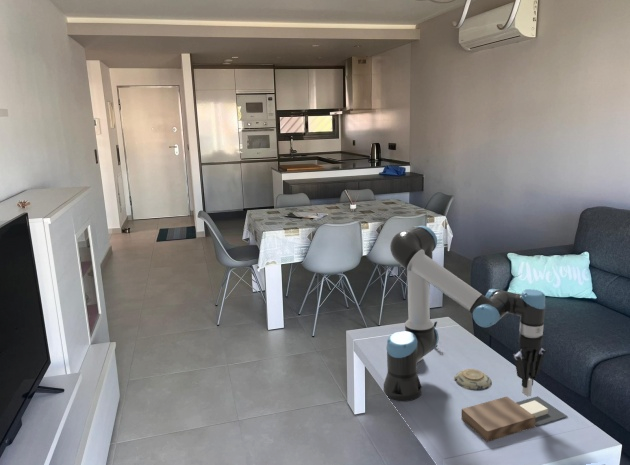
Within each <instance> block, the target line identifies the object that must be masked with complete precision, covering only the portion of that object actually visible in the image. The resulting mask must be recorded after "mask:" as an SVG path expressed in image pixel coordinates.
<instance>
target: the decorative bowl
mask: <svg viewBox="0 0 630 465" xmlns="http://www.w3.org/2000/svg"><path fill="white" fill-rule="evenodd" d="M453 380H454V381H456V382H455V383H456V385H458V386H459V387H461V388H462V389H465V390H470V391H484V390H488V389H489V388H491V387H492V385H493V382H492V379H491V378H490V377H489V376H488V375H487V373H485V372H482V371H480V370H478V369H474V368H466V369H464V370H462V371H459V372H458V373H456V374H455V376H454V378H453Z"/></svg>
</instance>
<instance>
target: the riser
mask: <svg viewBox="0 0 630 465" xmlns="http://www.w3.org/2000/svg"><path fill="white" fill-rule="evenodd" d="M461 420H462V421H463V422H464V423H465V424H467V425H468V426H469V427H470V428H471V429H472V430H473V431H474V432H476V434H478V435H479V436H480V437H481V438H482V439H484V441H486V442H487V443H488V442H491V441H492V442H493V441H494V440H498V439H502V438H504V437H507V436H511V435H514V434H517V433H521V432H524V431H528V430H530V429H533V428H535V427H536V426H535V416H534V415H532V414H531V413H529V412H528V411H527V410H525V409H524V408H522V407H521V406H520V405H518V404H517V403H516V402H515V401H514V400H512V399H511V398H510V397H508V396H504V397H500V398H496V399H492V400H489V401H485V402H481V403H479V404H474V405H470V406H467V407H464V408H461Z"/></svg>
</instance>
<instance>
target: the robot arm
mask: <svg viewBox="0 0 630 465" xmlns="http://www.w3.org/2000/svg"><path fill="white" fill-rule="evenodd" d="M437 245H438V238H437V235H436V233H435V232H434V231H433V230H432V228H430V227H428V226H426V225H418V226H413V227H411V228H408V229H405V230H403V231H400V232H398V233H396V234H395V235H394V236H393V237H392V239H391V242H390V247H389V248H390V254H391V255H392V257H393V259H394V260H395V261H396V262H397V264H399V265H400V266H401V267H403V268H404V269H405V270H406V275H407V276H406V277H407V278H406V279H407V308H408V315H407V316H408V317H407V318H408V319H407V320H406V321H405V323H404V330H401V331H395V332H393V333H392V334H391V335H389V337H388V338H387V342H386V355H387V356H386V359H387V360H386V362H387V363H386V364H387V366H386V367H387V373H386V377H385V378H384V383H383V393H384V395H386V397H388V398H390V399H392V400H395V401H398V402H400V401H401V402H409V401H413V400H416V399H418V398H419V397H420V396H421V395H422V393H423V392H422V390H423V389H422V388H423V387H422V384H421V380H420V377H419V375H418V362H417V361H418V360H419V359H421V358H422V357H423V358H424V357H425V356H427V355H428V354H429V353H431V352H432V351H433V350H434V349H435V348H436V347H437V345H438V343H439V338H440V337H439V332H438V329H436V327H434V322H433V321H432V320H431V317H430V315H431V314H430V284H431V285H432V286H433V287H434V288H436V289H437V290H439V291H441V293H443V294H444V295H445V296H447V297H449V299H451V300H453V301H454V302H455V303H456V304H458V305H459V306H461V307H462V308H464V309H465V310H467V311H468V312H469V313H471V315H472V319H473V320H474V322H475V324H477V326H479V327H481V328H490V327H492V326H493V325H494V326H495V325H496V324H497V323H498V322H499V321H500V320H501V319H502V318H503V317H504V316H506V314H510V315H514V316H518V317H519V318H520V319H519V328H518V329H519V333H518V343H519V348H518V352H516V353H513V354H512V357H513V359H514V362H515V363H514V364H515V369H516V370H515V372H516V375H517V377H518V378H520V379H521V386H522V391H521V392H522V394H523V395H524V396H526V397H531V396H532V387H533V385H534V381H535V380H536V379H537V377H539V375H540V371H541V367H542V365H543V360H544V357H545V356H546V353H547V350H546V349H544V348H543V347H542V346H543V339H544V338H543V334H544V333H543V332H544V325H545V324H544V321H545V313H546V306H547V305H546V295H545V293H544V292H543V291H541V290H538V289H530V288H529V289H524V290H523V291H522V292H521V293H516V292H512V291H507V290H502V289H495V288H490V289H488V290H487V292H486V294H485V295H484V294H482V293H481V292H479V291H478V290H477V289H475V288H474V287H472V286H471V285H469V284H468V283H467V282H465V281H464V280H462V279H461V278H459V277H458V276H457V275H455V274H453V272H451V271H450V270H449V269H446V268H445V267H444V266H442V265H441V264H440V263H438V262H437V261H435V260H434V259H433V252H434V251H435V249H436V248H437Z"/></svg>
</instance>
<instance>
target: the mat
mask: <svg viewBox="0 0 630 465" xmlns="http://www.w3.org/2000/svg"><path fill="white" fill-rule="evenodd" d="M534 400H535V401H537V402H538V403H540V404H541V405H543V406H545V407H546V408H548V414H545V415H542V416H539V417H536V418H535V427H540V426H543V425H545V424H550V423H553V422H556V421H559V420H562V419H565V418H568V415H567V414H565V413H563V412H562V411H560V410H559V409H558V408H556V407H555V406H553V405H551V404H550V403H549V402H547V401H545V400H544V399H543V398H541V397H540V396H538V395H537V396H534V397H531V398H527V399H523V400H521V401H517V402H516V403H517V404H518V405H522V404H525V403H528V402H531V401H534Z"/></svg>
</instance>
